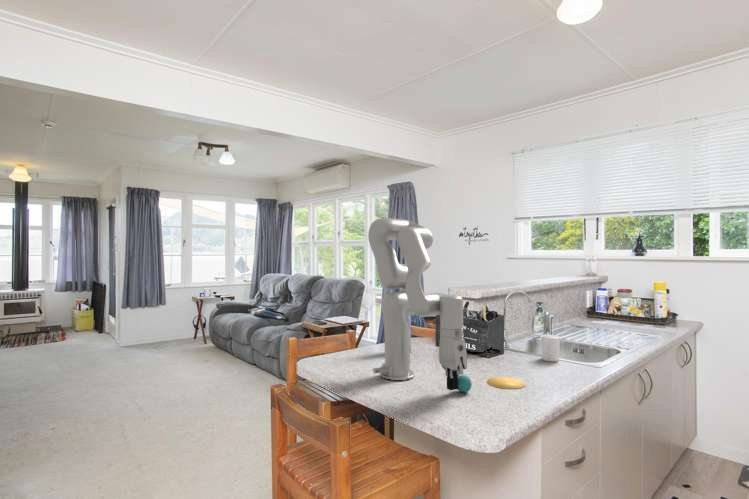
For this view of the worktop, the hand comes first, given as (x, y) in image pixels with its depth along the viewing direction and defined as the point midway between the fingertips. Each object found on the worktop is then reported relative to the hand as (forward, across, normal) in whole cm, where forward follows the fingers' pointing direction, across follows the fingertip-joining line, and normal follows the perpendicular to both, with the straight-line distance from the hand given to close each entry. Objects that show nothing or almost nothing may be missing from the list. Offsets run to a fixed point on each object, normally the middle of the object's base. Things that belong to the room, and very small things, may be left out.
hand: (452, 388), depth 136 cm
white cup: (+2, +18, -63) cm, 66 cm away
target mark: (+2, +1, -24) cm, 24 cm away
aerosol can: (+2, +56, -12) cm, 57 cm away
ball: (-1, 0, -4) cm, 5 cm away
